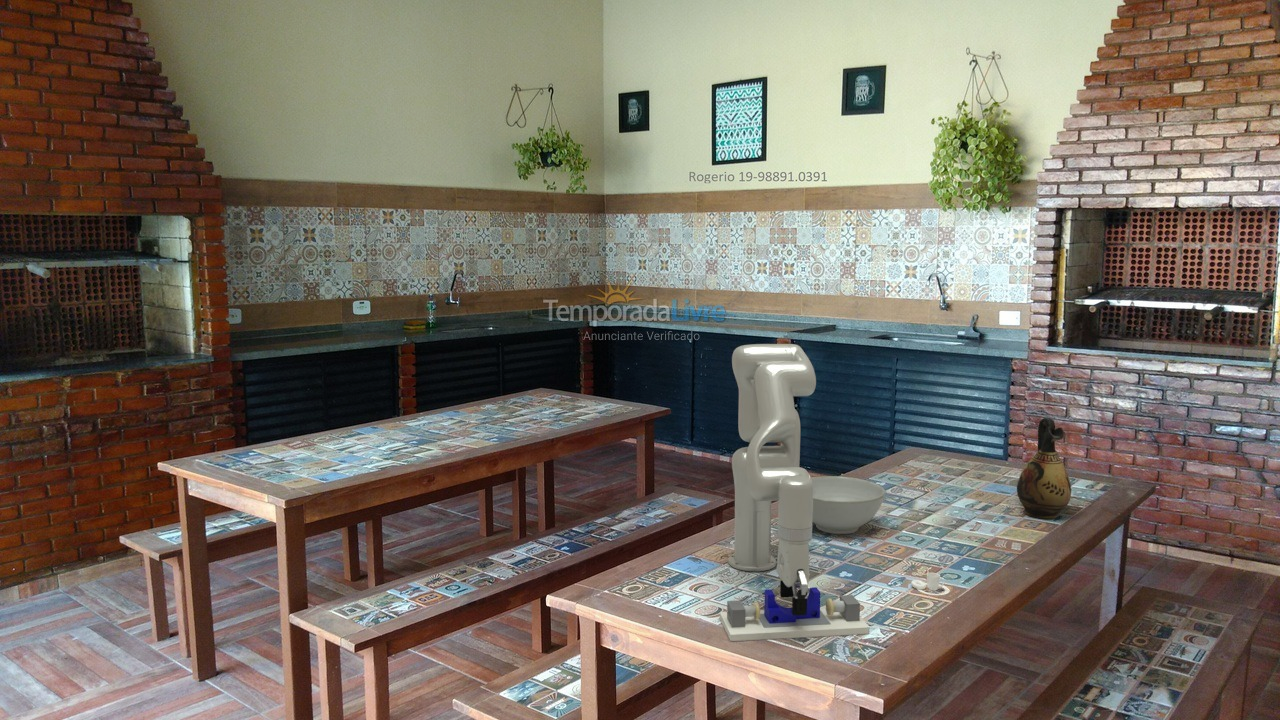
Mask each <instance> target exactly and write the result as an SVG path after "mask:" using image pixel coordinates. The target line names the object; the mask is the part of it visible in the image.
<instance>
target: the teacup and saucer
mask: <svg viewBox="0 0 1280 720" xmlns="http://www.w3.org/2000/svg"><path fill="white" fill-rule="evenodd" d="M941 580H943V582H942V584H941ZM945 581H946V580H945V578H944V577H941V574H939V573H936V572H927V573H926V582H924V581H921V580H919V579H913V580H911V582H910V585H911V586H912V587H913V588H914V589H916V590H917V591H918V592H920V593H922V594H925V595H930V596H945V595H947V594H949V593H950V592H951V590H950V588H948V587H947V586H946V585H944V584H945ZM926 588H928V590H930V591H934V592H937V591H938V590H939V589H940V588H942V589H944V592H940V593H932V592H927V591H924V590H925V589H926Z"/></svg>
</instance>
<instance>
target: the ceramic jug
mask: <svg viewBox="0 0 1280 720" xmlns="http://www.w3.org/2000/svg"><path fill="white" fill-rule="evenodd" d="M1037 428H1038V429H1037V452H1036V453H1035V454H1034V456H1033V457H1032V458H1031V459H1030V460H1029V461H1028V463H1026V465H1025V466H1024V468H1023V469H1022V471H1021V472H1020V475H1019V478H1018V479H1017V480H1018V481H1017V483H1016V493H1017V497H1018V500H1019V502H1020V504H1021V505H1022V506H1023V508H1024V513H1025V514H1026V515H1027V516H1028V517H1030V518H1035V519H1036V518H1037V519H1039V520H1050V519H1051V520H1052V519H1053V520H1054V519H1056V518H1057V516H1058V515H1059V514H1060V512H1062V510H1064V508H1066V507H1067V506H1068V505H1069V503H1070V500H1071V497H1072V484H1071V483H1072V482H1071V479H1070V476H1069V473H1068V471H1067V469H1066V466H1065V464H1064V463H1063V461H1062V459H1061V457H1060V456H1059V455H1058V452H1057V450H1056V445H1055V444H1056V441H1060V440H1063V439H1064V437H1065V432H1064V429H1063V428H1062V427H1057V428H1056V424H1055V420H1054V419H1053V418H1051V417H1043V418H1042V419H1041V420H1039V423H1038V427H1037Z"/></svg>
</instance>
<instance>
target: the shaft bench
mask: <svg viewBox="0 0 1280 720" xmlns="http://www.w3.org/2000/svg"><path fill="white" fill-rule="evenodd" d="M726 607H727V608H726V610H727V611H720V612H719V621H720V622H721V625H722V627H723V628H724V630H725V633H726V635H727V637H728V638H729V641H730V642H740V641H741V642H742V641H757V640H758V641H759V640H760V641H762V640H775V639H776V640H780V639H781V640H782V639H797V638H799V639H800V638H815V637H832V636H833V637H834V636H853V635H869V634H870V626H869V625H868V624H867V622H866V621H865V620H864V619H863V618H862V617H861V616H860V615H861V603H860V602H859V601H858V600H857V599H856V597H855V596H854V595H853V594H850V595H849V594H848V595H847V594H843V595H839V600H836V601H835V600H833V599H832V598H826V600H825V606H820V618H809V619H796V622H789V623H770V624H769V622H768V621H767V619H766V617H765V616H764V609H761V608H760V603H759V602H758V601H755V602H753V603H752V605H744V604H743V602H742V601H741V600H727V604H726Z"/></svg>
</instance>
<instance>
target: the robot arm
mask: <svg viewBox="0 0 1280 720" xmlns="http://www.w3.org/2000/svg"><path fill="white" fill-rule="evenodd" d="M731 364H732V365H731V366H732V370H733V371H732V372H733V374H734V377H735V381H736V383H737V387H738V417H737V418H738V421H737V422H738V423H737V424H738V433H739V437H740V439H742V440H743V441H744V442H748V443H749V444H748V446H745V447H741V448H738V449H737V450H735V452H734V453H732V454H733V455H732V457H731V469H732V474H733V475H732V477H733V482H734V536H733V537H734V542H733V543H734V547H733V549H734V553H732V554H730V555H729V556H728V558H727V559H728V560H727V561H728V562H727V563H728V564H729V566H731V567H732V568H734V569H736V570H739V571H744V572H765V571H769V570H772V569H774V568H775V567H776V573H777V575H778V577H779V578H780V581H779V582H780V586H779V587H780V588H779V596H780V598H781V599H782V598H783V599H784V598H791V607H792V614H793V615H794V616H797V615H806V614H807V597H808V593H809V592H808V589H809V588H808V587H809V579H810V549H809V544H810V542H812V541H813V522H812V520H813V483H812V481H811V474H809V472H808V471H807V469H805V468H803V467H800V461H801V459H800V457H801V453H800V452H801V420H800V416H799V412H798V410H797V409H795V402H794V397H809V396H811V395H812V394H813V393H814V392H815V389H816V388H817V387H816V386H817V377H816V373H815V368H814V366H813V365H812V362H811V360H810V359H809V357H808V356H807V354H806V352H804V350H803V349H802V347H801V346H800V345H799V344H795V343H794V344H793V343H755V344H744V345H740V346H738V347H736V348H735V349H734V350H733V353H732V355H731ZM766 443H780V445H765V444H766ZM772 502H777V503H778V505H777V506H778V508H777V511H778V512H777V539H778V546H777V559H776V558H775V556H774V555H772V554H771V547H772V546H771V544H772V543H771V542H772V541H771V539H772V537H771V536H772V535H771V534H772ZM797 588H799V589H798V590H797Z"/></svg>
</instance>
